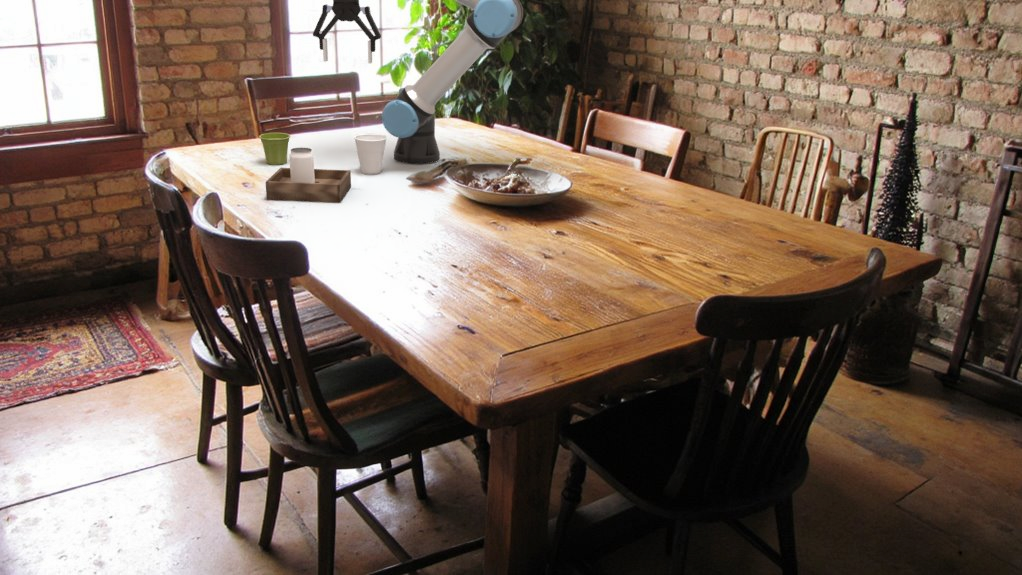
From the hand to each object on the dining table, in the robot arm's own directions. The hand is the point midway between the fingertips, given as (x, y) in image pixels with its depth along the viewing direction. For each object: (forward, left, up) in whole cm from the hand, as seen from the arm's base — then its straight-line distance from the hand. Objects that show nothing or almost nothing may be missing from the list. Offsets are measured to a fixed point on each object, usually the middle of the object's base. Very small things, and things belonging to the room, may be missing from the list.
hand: (348, 62), depth 258 cm
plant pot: (+23, +3, -32) cm, 39 cm away
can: (+7, +36, -32) cm, 48 cm away
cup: (-8, +10, -32) cm, 34 cm away
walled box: (+5, +36, -32) cm, 48 cm away
